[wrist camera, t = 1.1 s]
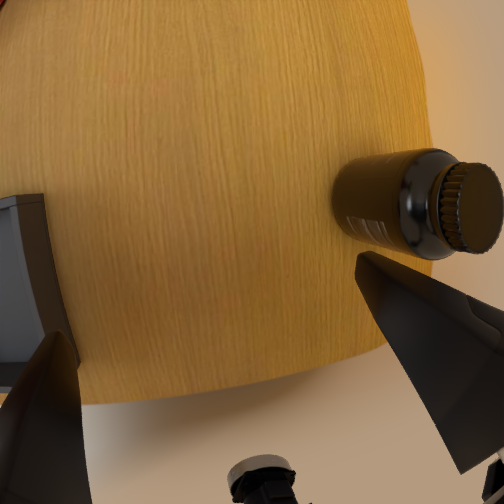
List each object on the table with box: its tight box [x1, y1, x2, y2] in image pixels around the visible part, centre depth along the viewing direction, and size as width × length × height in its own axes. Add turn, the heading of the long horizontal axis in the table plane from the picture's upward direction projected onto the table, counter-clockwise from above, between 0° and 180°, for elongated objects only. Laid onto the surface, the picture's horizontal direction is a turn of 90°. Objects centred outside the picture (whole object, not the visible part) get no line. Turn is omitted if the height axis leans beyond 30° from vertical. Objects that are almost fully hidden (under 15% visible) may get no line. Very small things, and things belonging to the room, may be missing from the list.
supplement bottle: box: [332, 148, 504, 260], centre depth 19 cm, size 7×7×12 cm
